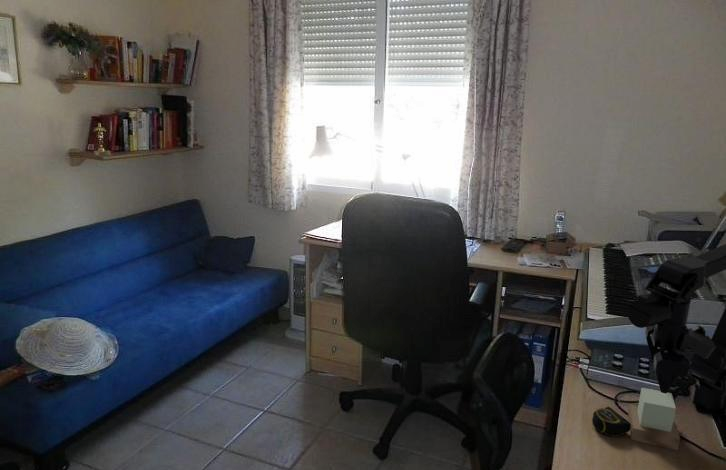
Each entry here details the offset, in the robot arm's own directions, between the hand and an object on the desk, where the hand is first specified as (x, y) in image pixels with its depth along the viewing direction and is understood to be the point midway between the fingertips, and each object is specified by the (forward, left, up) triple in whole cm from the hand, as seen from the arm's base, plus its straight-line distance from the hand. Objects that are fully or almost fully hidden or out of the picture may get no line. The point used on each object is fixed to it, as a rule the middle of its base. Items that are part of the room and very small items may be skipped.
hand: (660, 381), depth 117 cm
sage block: (+1, +3, -8) cm, 9 cm away
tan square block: (+1, +3, -11) cm, 12 cm away
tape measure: (+9, +5, -12) cm, 16 cm away
